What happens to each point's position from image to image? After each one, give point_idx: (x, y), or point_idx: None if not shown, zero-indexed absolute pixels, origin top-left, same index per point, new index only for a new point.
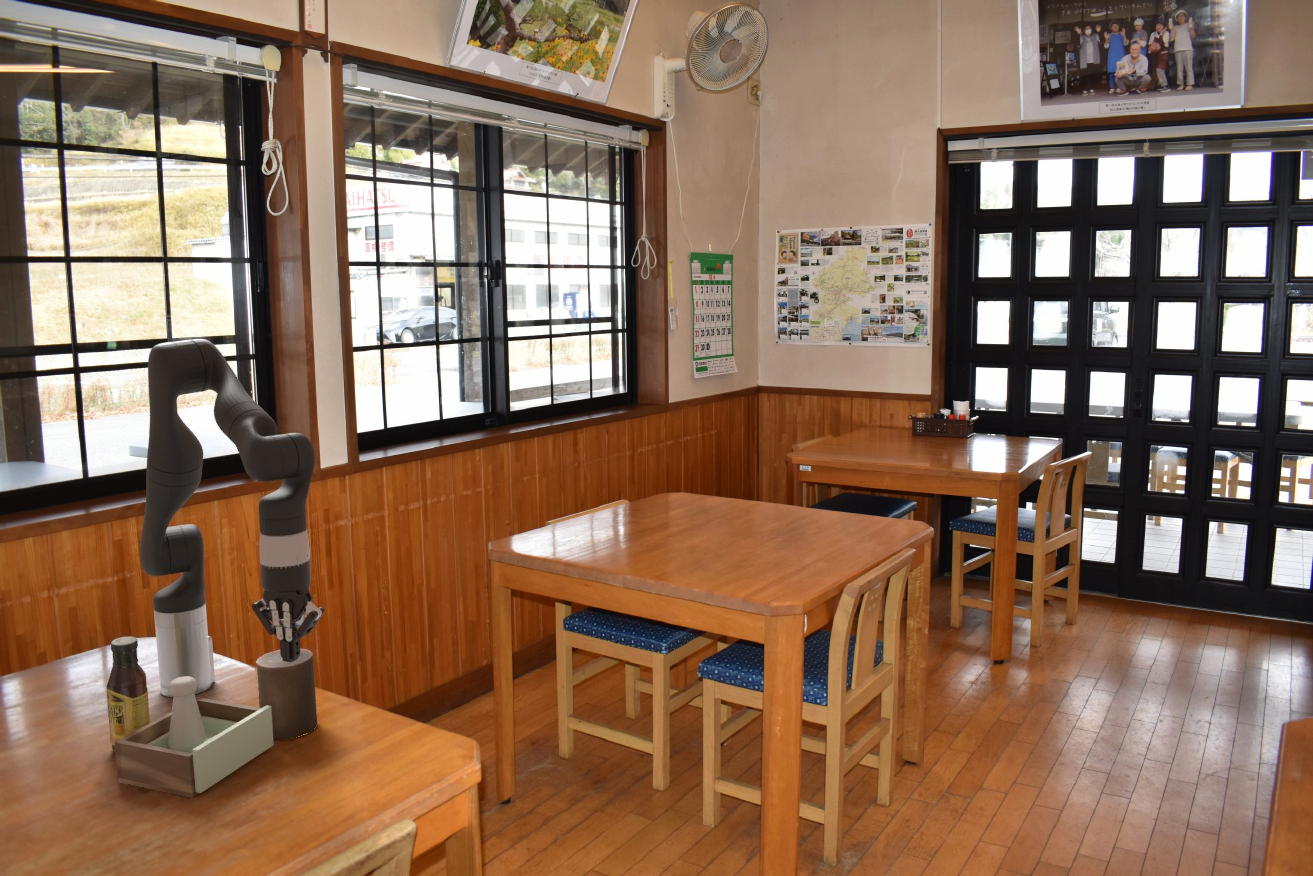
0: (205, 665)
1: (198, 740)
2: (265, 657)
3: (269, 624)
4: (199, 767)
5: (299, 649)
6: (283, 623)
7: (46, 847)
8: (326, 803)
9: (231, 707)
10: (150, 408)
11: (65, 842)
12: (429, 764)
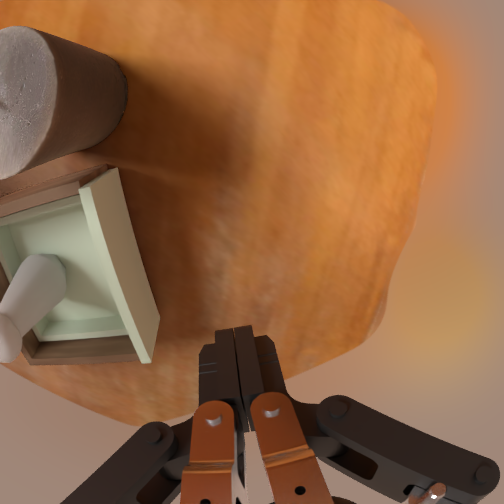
0: None
1: (63, 283)
2: None
3: (173, 499)
4: (154, 341)
5: (278, 361)
6: (246, 499)
7: (130, 411)
8: (332, 246)
9: (19, 210)
10: None
11: (134, 404)
12: (400, 92)
